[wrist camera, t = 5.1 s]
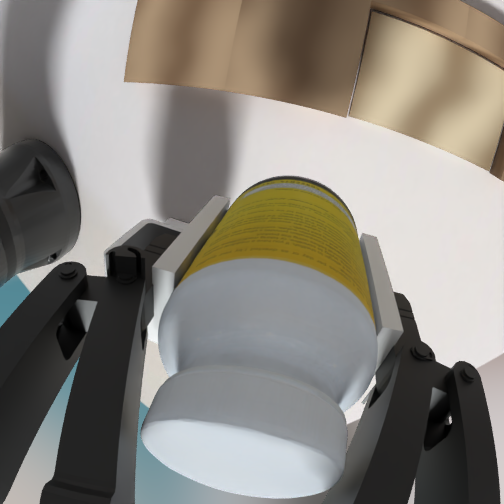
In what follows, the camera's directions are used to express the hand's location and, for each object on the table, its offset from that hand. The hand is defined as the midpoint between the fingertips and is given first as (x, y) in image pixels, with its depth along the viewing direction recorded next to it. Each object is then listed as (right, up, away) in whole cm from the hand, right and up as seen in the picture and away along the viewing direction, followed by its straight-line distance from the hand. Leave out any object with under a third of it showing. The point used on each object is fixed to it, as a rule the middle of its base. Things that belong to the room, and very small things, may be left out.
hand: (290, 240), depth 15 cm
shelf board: (+5, +15, +2) cm, 16 cm away
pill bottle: (0, 0, +1) cm, 1 cm away
